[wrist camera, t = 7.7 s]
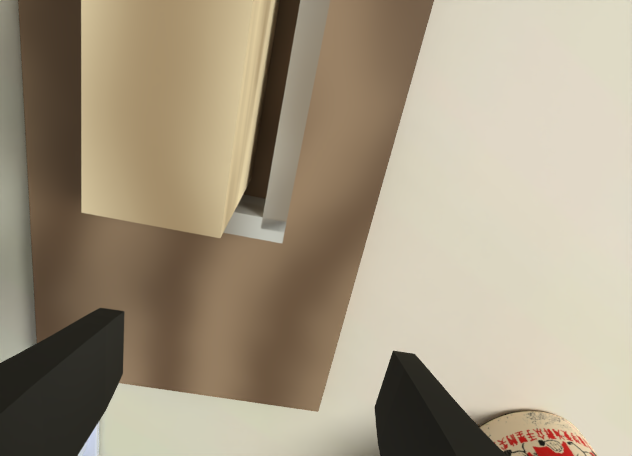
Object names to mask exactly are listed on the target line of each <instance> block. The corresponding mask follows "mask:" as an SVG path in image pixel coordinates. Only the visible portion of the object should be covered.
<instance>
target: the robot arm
mask: <svg viewBox="0 0 632 456" xmlns="http://www.w3.org/2000/svg"><path fill="white" fill-rule="evenodd" d="M124 312H125V311H120V310H113V309H106V308H99V309H97V310H95V311H93V312H91V313H89V314H88V315H86V316H84V317H82V318H81V319H79V320H77V321H75V322H74V323H72V324H70V325H69V326H67V327H65V328H63V329H62V330H60V331H58V332H56V333H55V334H53V335H51V336H49V337H48V338H46V339H44V340H42V341H40V342H39V343H37V344H35V345H33V346H32V347H30V348H28V349H26V350H24V351H23V352H21V353H19V354H17V355H15V356H13V357H11V358H9V359H7V360H5V361H3V362H1V363H0V456H99V421H100V419H101V417H102V416H103V414H104V412H105V411H106V409H107V407H108V404H109V402H110V400H111V398H112V396H113V394H114V392H115V390H116V388H117V386H118V383H119V381H120V379H121V377H122V375H123V352H124ZM375 416H376V428H377V437H378V446H379V450H380V455H381V456H507V455H506V454H505V453H504V452H503V451H502V450H501V449H500V448H499V447H498V446H497V445H496V444H495V443H494V442H493V441H492V440H491V439H490V438H489V437H488V436H487V435H486V434H485V433H484V432H483V431H482V430H481V429H480V428H479V426H478V425H477V424H476V423H475V422H474V421H473V420H472V419H471V418H470V417H469V416H468V415H467V413H466V412H465V411H464V410H463V409H462V408H461V407H460V406H459V405H458V403H457V402H456V401H455V400H454V399H453V398H452V397H451V395H450V394H449V393H448V392H447V391H446V390H445V388H444V387H443V386H442V385H441V384H440V383H439V381H438V380H437V379H436V378H435V377H434V376H433V374H432V373H431V372H430V371H429V370H428V369H427V367H426V366H425V365H424V364H423V363H422V362H421V361H420V359H419V358H418V357H417V356H416V355H415V354H412V353H405V352H398V351H393V353H392V356H391V359H390V362H389V365H388V368H387V371H386V374H385V377H384V380H383V383H382V386H381V389H380V392H379V396H378V399H377V402H376V405H375Z"/></svg>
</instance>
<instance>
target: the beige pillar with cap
mask: <svg viewBox="0 0 632 456" xmlns="http://www.w3.org/2000/svg"><path fill="white" fill-rule="evenodd" d="M279 1H280V0H81V213H86V214H92V215H97V216H103V217H108V218H113V219H119V220H124V221H130V222H135V223H140V224H146V225H151V226H157V227H162V228H167V229H173V230H178V231H184V232H189V233H194V234H200V235H205V236H211V237H216V238H221V236H222V234H223V232H224V230H225V228H226V226H227V224H228V222H229V221H230V219H231V217H232V215H233V213H234V211H235V209H236V207H237V205H238V203H239V201H240V199H241V198H242V196H243V194H244V192H245V190H246V188H247V186H248V184H249V182H250V180H251V177H252V170H253V164H254V158H255V152H256V145H257V139H258V133H259V126H260V120H261V114H262V108H263V101H264V95H265V89H266V82H267V76H268V70H269V63H270V57H271V51H272V45H273V38H274V32H275V26H276V19H277V13H278V7H279Z"/></svg>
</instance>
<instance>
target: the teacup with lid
mask: <svg viewBox="0 0 632 456" xmlns="http://www.w3.org/2000/svg"><path fill="white" fill-rule="evenodd" d="M479 428H480V429H481V430H482V431H483V432H484V433H485V434H486V435H487V436H488V437H489V438H490V439H491V440H492V441H493V442H494V443H495V444H496V445H497V446H498V447H499V448H500V449H501V450H502V451H503V452H504V453H505V454H506V455H507V456H598V455H597V454H596V452H595V451H594V450H593V448H592V447H591V446H590V444H589V443H588V442H587V441H586V439H585V438H584V437H583V435H582V434H581V433H580V431H579V430H578V429H577V428H576V427H575V426H574V425H573V424H572V423H570V422H569V421H567V420H566V419H564V418H562V417H559V416H557V415H554V414H550V413H546V412H539V411H523V412H516V413H511V414H507V415H504V416H501V417H498V418H496V419H493V420H491V421H489V422H487V423H486V424H484V425H482V426H481V427H479Z"/></svg>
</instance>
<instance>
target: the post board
mask: <svg viewBox="0 0 632 456" xmlns="http://www.w3.org/2000/svg"><path fill="white" fill-rule="evenodd" d="M433 2H434V0H280V1H279V7H278V13H277V19H276V26H275V32H274V38H273V45H272V51H271V57H270V63H269V70H268V76H267V82H266V89H265V95H264V101H263V108H262V114H261V120H260V126H259V133H258V139H257V145H256V152H255V158H254V164H253V170H252V177H251V180H250V182H249V184H248V186H247V188H246V190H245V192H244V194H243V196H242V198H241V199H240V201H239V203H238V205H237V207H236V209H235V211H234V213H233V215H232V217H231V219H230V221H229V222H228V224H227V226H226V228H225V230H224V232H223V234H222V236H221V238H216V237H211V236H205V235H200V234H194V233H189V232H184V231H178V230H173V229H167V228H162V227H157V226H151V225H146V224H140V223H135V222H130V221H124V220H119V219H113V218H108V217H103V216H97V215H92V214H86V213H81V0H18V6H19V24H20V43H21V61H22V80H23V98H24V116H25V135H26V153H27V172H28V190H29V208H30V227H31V245H32V264H33V282H34V300H35V319H36V337H37V343H39V342H40V341H42V340H44V339H46V338H48V337H49V336H51V335H53V334H55V333H56V332H58V331H60V330H62V329H63V328H65V327H67V326H69V325H70V324H72V323H74V322H75V321H77V320H79V319H81V318H82V317H84V316H86V315H88V314H89V313H91V312H93V311H95V310H97V309H99V308H106V309H113V310H120V311H125V312H124V352H123V375H122V377H121V379H120V381H119V383H123V384H130V385H137V386H144V387H151V388H158V389H165V390H172V391H179V392H186V393H192V394H199V395H206V396H213V397H220V398H227V399H234V400H241V401H248V402H255V403H262V404H269V405H276V406H283V407H289V408H296V409H303V410H310V411H317V412H318V410H319V407H320V403H321V400H322V396H323V393H324V389H325V385H326V382H327V378H328V375H329V371H330V368H331V364H332V361H333V357H334V354H335V350H336V346H337V343H338V339H339V336H340V332H341V329H342V325H343V322H344V318H345V314H346V311H347V307H348V304H349V300H350V297H351V293H352V290H353V286H354V282H355V279H356V275H357V272H358V268H359V265H360V261H361V258H362V254H363V251H364V247H365V243H366V240H367V236H368V233H369V229H370V226H371V222H372V219H373V215H374V211H375V208H376V204H377V201H378V197H379V194H380V190H381V187H382V183H383V180H384V176H385V172H386V169H387V165H388V162H389V158H390V155H391V151H392V148H393V144H394V140H395V137H396V133H397V130H398V126H399V123H400V119H401V116H402V112H403V108H404V105H405V101H406V98H407V94H408V91H409V87H410V84H411V80H412V77H413V73H414V69H415V66H416V62H417V59H418V55H419V52H420V48H421V45H422V41H423V37H424V34H425V30H426V27H427V23H428V20H429V16H430V13H431V9H432V5H433Z"/></svg>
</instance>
